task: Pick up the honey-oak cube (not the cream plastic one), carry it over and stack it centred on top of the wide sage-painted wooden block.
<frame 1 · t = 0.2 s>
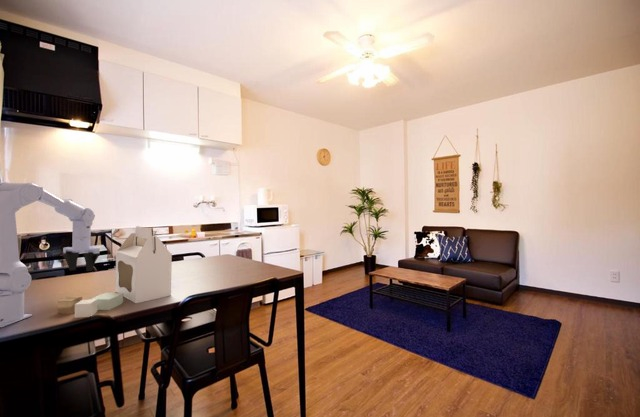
hand: (81, 270, 116), 10 cm above the table, tool pointing down, fingers open, 7 cm apart
cream cube: (86, 314, 96), on the table
sage block: (106, 306, 104), on the table
gable box: (143, 294, 119), on the table
oak cube: (70, 311, 99), on the table
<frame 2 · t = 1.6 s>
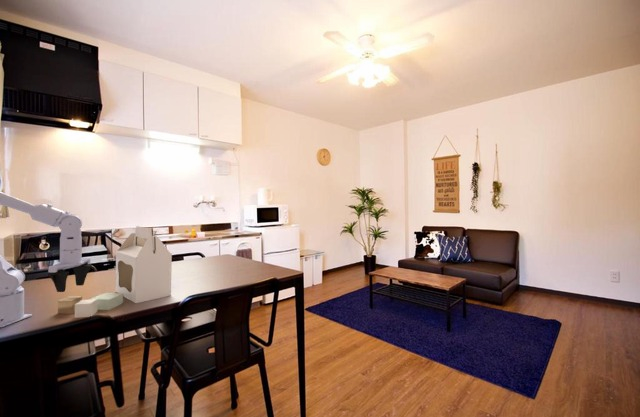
hand: (70, 288, 99), 8 cm above the table, tool pointing down, fingers open, 7 cm apart
nothing on the table moved.
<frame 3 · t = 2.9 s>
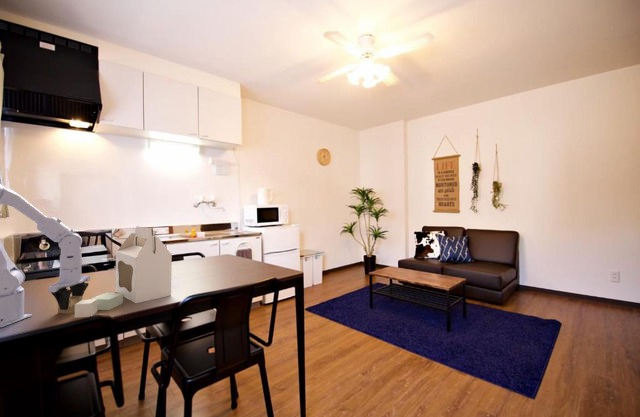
hand: (70, 306, 99), 1 cm above the table, tool pointing down, fingers closed on oak cube, 4 cm apart
oak cube: (70, 310, 99), on the table, touching gripper
everything else where it was.
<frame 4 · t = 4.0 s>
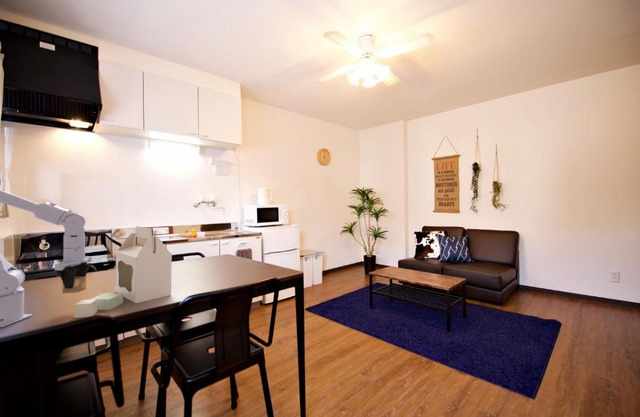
hand: (74, 286, 99), 8 cm above the table, tool pointing down, fingers closed on oak cube, 4 cm apart
oak cube: (74, 291, 99), point 7 cm above the table, touching gripper
everything else where it was.
when the fingers open (6 cm above the table, at t = 5.3 s): oak cube stays where it is, point 4 cm above the table.
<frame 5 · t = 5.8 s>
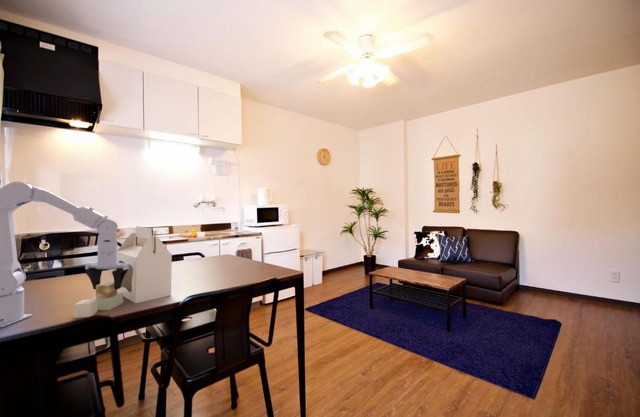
hand: (107, 288, 104), 6 cm above the table, tool pointing down, fingers open, 7 cm apart
oak cube: (106, 296, 104), point 4 cm above the table
everything else where it was.
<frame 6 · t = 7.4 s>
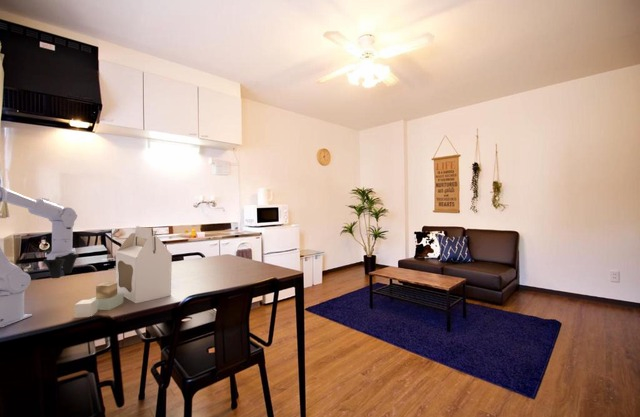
hand: (61, 275, 106), 10 cm above the table, tool pointing down, fingers open, 7 cm apart
sage block: (107, 307, 104), on the table, touching oak cube
oak cube: (106, 296, 104), point 4 cm above the table, touching sage block
everything else where it was.
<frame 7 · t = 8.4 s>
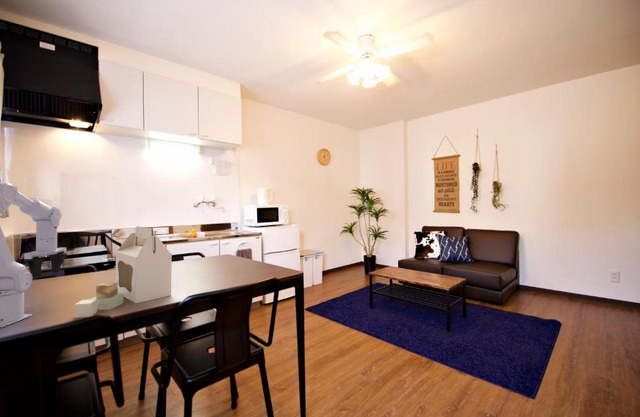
hand: (46, 274, 107), 10 cm above the table, tool pointing down, fingers open, 7 cm apart
nothing on the table moved.
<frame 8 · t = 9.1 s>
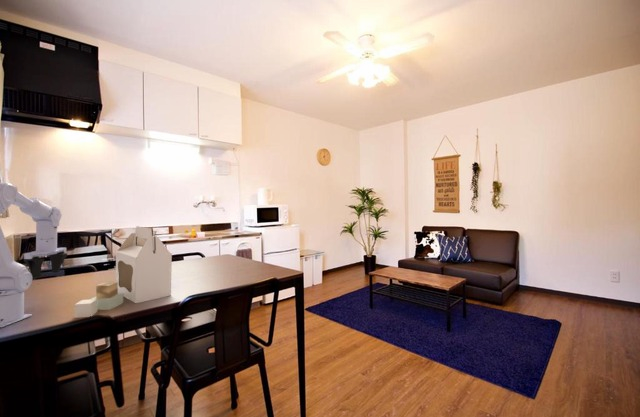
hand: (46, 274, 107), 10 cm above the table, tool pointing down, fingers open, 7 cm apart
nothing on the table moved.
at the end: oak cube 0.1 cm off-centre on the sage block, point 4.0 cm above the sage block's base; oak cube tilted 0°; the gripper is holding nothing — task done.
